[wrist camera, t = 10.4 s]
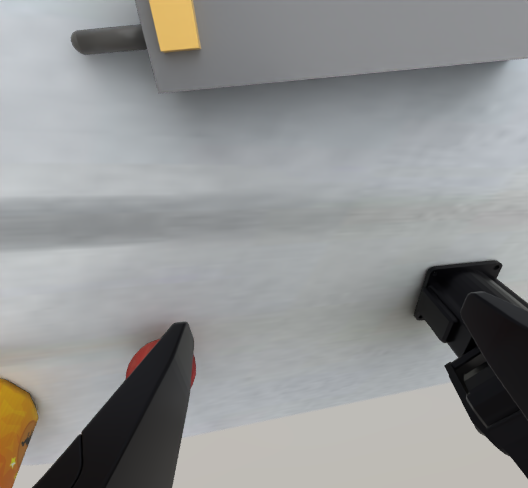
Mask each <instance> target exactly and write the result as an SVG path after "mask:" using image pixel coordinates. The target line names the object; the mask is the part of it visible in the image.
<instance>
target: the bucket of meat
mask: <svg viewBox="0 0 528 488" xmlns="http://www.w3.org/2000/svg"><path fill="white" fill-rule="evenodd" d="M37 420H38V415H37V411H36V407H35V405H34V403H33V400H32V398H31V396H30V394H29V393H28V392H26V391H24V390H23V389H21V388H19V387H18V386H16V385H14V384H12V383H11V382H9V381H7V380H5V379H1V378H0V488H12V486H13V484H14V481H15V478H16V476H17V473H18V471H19V468H20V465H21V463H22V460H23V457H24V455H25V452H26V449H27V447H28V444H29V441H30V439H31V436H32V433H33V431H34V428H35V425H36V423H37Z"/></svg>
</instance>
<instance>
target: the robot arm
mask: <svg viewBox="0 0 528 488" xmlns="http://www.w3.org/2000/svg"><path fill="white" fill-rule="evenodd" d="M501 268H502V264H501V263H500V262H498V261H485V262H475V263H465V264H455V265H445V266H435V267H431V268H430V269H429V270H428V271H427V274H426V278H425V281H424V284H423V287H422V291H421V294H420V297H419V300H418V304H417V307H416V310H415V313H414V316H415V318H416V319H417V320H425V321H426V322H427V323H428V325H429V326H430V327H431V329H432V330H433V331H434V333H435V334H436V335H437V337H438V338H439V339H440V341H442V342H443V343H448V345H449V346H450V347H451V349H452V350H453V351H454V353H455V354H456V355H457V356H458V358H457V359H456V360H454V361H453V362H449V363H447V364H446V365H445V368H446V370H447V372H448V374H449V377H450V379H451V381H452V383H453V385H454V387H455V389H456V391H457V393H458V395H459V397H460V399H461V401H462V403H463V405H464V407H465V409H466V411H467V413H468V415H469V417H470V419H471V421H472V422H473V424H474V426H475V428H476V429H477V430H478V432H479V433H480V434H482V435H484V436H486V437H487V438H488V439H489V440H490V441H491V442H492V443H493V444H494V445H495V446H496V447H497V448H498V449H499V450H500V451H502V452H503V453H504V454H506V455H508V456H510V457H511V458H512V459H513V460H514V462H515V463H516V464H517V465H518V467H519V468H520V469H521V470H522V472H523V473H524V474H525V476H526V477H527V478H528V303H527V302H526V301H524V300H523V299H522V298H521V297H519V296H518V295H517V294H515V293H514V292H513V291H512V290H510V289H509V288H508V287H507V286H505V285H504V284H503V283H501V282H500V281H499V280H498V279H496V278H497V276H498V274H499V272H500V270H501ZM193 351H194V339H193V336H192V333H191V330H190V327H189V324H188V323H187V322H177V323H174V324H173V325H172V326H171V327H170V328H169V329H168V330H167V332H166V333H165V334H164V335H163V336H162V338H161V339H160V340H159V341H158V342H157V343H156V345H155V346H154V347H153V348H152V349H151V351H150V352H149V353H148V354H147V355H146V356H145V358H144V359H143V360H142V361H141V362H140V363H139V365H138V366H137V367H136V368H135V369H134V371H133V372H132V373H131V374H130V375H129V376H128V378H127V379H126V380H125V381H124V382H123V384H122V385H121V386H120V387H119V388H118V389H117V391H116V392H115V393H114V394H113V395H112V396H111V398H110V399H109V400H108V401H107V402H106V404H105V405H104V406H103V407H102V408H101V409H100V411H99V412H98V413H97V414H96V415H95V417H94V418H93V419H92V420H91V421H90V422H89V424H88V425H87V426H86V427H85V428H84V429H83V431H82V434H80V435H78V436H77V438H76V439H75V440H74V441H73V442H72V443H71V445H70V446H69V447H68V448H67V449H66V450H65V452H64V453H63V454H62V455H61V456H60V457H59V458H58V460H57V461H56V462H55V463H54V464H53V465H52V466H51V468H50V469H49V470H48V471H47V472H46V473H45V474H44V476H43V477H42V478H41V479H40V480H39V481H38V482H37V483H36V484H35V485H34V486H33V487H32V488H172V485H173V480H174V475H175V470H176V464H177V459H178V454H179V448H180V443H181V438H182V433H183V428H184V423H185V418H186V412H187V407H188V402H189V396H190V387H191V375H192V363H193Z"/></svg>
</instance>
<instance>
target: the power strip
mask: <svg viewBox="0 0 528 488" xmlns="http://www.w3.org/2000/svg"><path fill="white" fill-rule="evenodd" d="M135 3H136V7H137V11H138V15H139V18H140V22H141V25H130V26H119V27H109V28H98V29H87V30H77V31H75V32H73V33H72V35H71V42H72V45H73V46H74V48H75V49H76V50H77V51H78V52H79V53H81V54H84V55H92V54H102V53H113V52H124V51H134V50H145V49H147V50H148V54H149V58H150V62H151V66H152V70H153V74H154V78H155V82H156V86H157V89H158V93H170V92H180V91H191V90H201V89H212V88H222V87H233V86H243V85H254V84H264V83H274V82H285V81H295V80H306V79H316V78H327V77H337V76H348V75H358V74H369V73H379V72H389V71H400V70H410V69H421V68H431V67H442V66H452V65H463V64H473V63H484V62H494V61H504V60H515V59H525V58H528V0H135Z"/></svg>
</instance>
